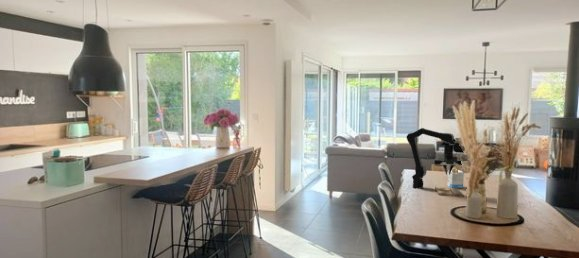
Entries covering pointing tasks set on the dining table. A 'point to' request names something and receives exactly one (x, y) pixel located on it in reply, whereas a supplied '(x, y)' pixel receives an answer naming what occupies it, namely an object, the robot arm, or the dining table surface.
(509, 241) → the dining table surface
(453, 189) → the tan wooden tile
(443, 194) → the plank front
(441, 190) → the plank rear
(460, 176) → the ink box
